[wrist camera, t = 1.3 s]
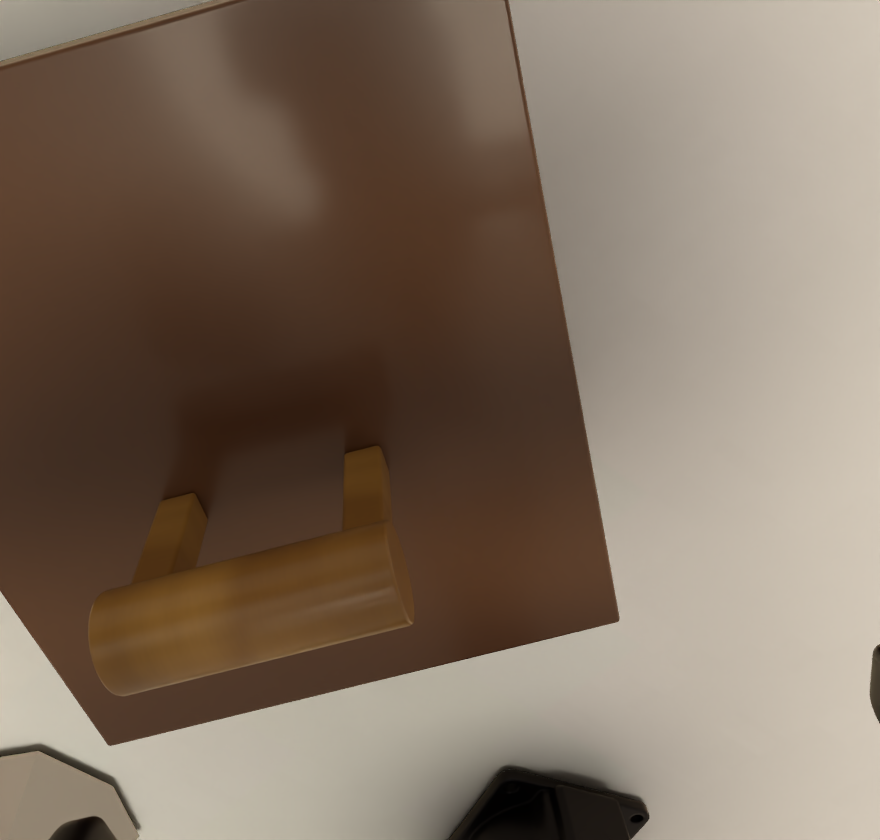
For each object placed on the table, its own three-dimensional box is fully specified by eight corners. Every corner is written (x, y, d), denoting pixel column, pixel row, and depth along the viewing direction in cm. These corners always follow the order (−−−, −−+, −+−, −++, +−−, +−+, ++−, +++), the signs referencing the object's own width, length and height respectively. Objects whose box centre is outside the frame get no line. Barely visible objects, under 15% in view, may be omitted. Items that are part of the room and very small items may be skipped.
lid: (611, 596, 18) (685, 787, 14) (117, 718, 19) (49, 936, 15) (487, -74, 12) (560, -88, 7) (-271, 142, 12) (-596, 241, 8)
